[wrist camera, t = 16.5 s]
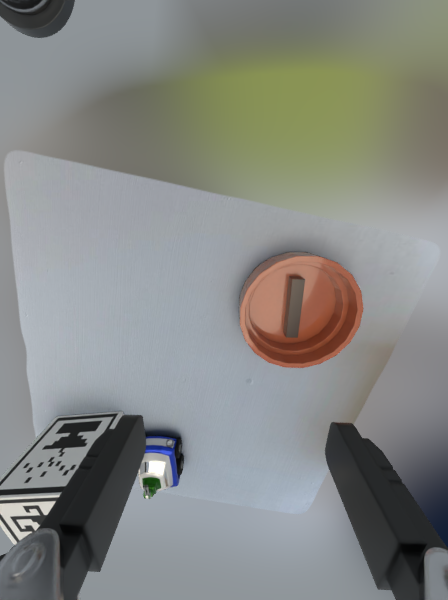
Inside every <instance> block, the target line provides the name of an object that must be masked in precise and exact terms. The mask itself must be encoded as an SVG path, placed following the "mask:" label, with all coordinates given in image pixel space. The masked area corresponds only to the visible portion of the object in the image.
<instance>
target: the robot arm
mask: <svg viewBox="0 0 448 600" xmlns="http://www.w3.org/2000/svg"><path fill="white" fill-rule="evenodd" d="M0 2H1V3H2V4H3V5H5V6H6V7H7V8H8V9H10V10H12V11H13V12H16V13H18V14H21V15H34V14H37V13H40V12H41V11H43V10H44V9H45V8H46V7H47V6H48V5H49V3H50V2H51V0H0ZM145 450H146V436H145V429H144V423H143V417H142V416H141V415H123V416H122V417H121V418H120V420H119V421H118V423H117V425H116V427H115V428H114V429H107V430H106V431H105V432H104V433H102V434H101V435H100V436H99V437H98V438H97V439H96V440H95V441H94V443H93V444H92V446H91V448H90V449H89V451H88V452H87V454H86V457H84V459H83V460H82V462H81V463H80V465H79V468H78V469H76V471H75V473H74V474H73V476H72V477H71V479H70V480H69V482H68V483H67V485H66V487H65V488H64V490H63V491H62V493H61V494H60V496H59V497H58V499H57V501H56V502H55V504H54V505H53V507H52V508H51V510H50V512H49V513H48V515H47V516H46V518H45V519H44V521H43V522H42V523H41V525H40V526H39V527H38V528H37V530H36V531H34V532H32V533H30V534H28V535H27V536H25V537H24V538H23V539H21V540H20V541H19V542H18V543H17V544H16V545H14V546H13V547H12V548H11V549H10V551H9V552H8V553H6V554H4V555H1V556H0V600H80V589H81V587H82V584H83V582H84V579H85V577H86V575H87V572H88V571H95V572H100V570H101V567H102V565H103V562H104V560H105V557H106V554H107V552H108V549H109V546H110V544H111V541H112V538H113V536H114V533H115V531H116V528H117V525H118V523H119V520H120V518H121V515H122V513H123V510H124V507H125V504H126V502H127V500H128V497H129V494H130V492H131V489H132V487H133V484H134V481H135V479H136V476H137V473H138V471H139V468H140V466H141V463H142V460H143V458H144V454H145ZM325 455H326V461H327V464H328V467H329V470H330V472H331V475H332V477H333V479H334V482H335V484H336V487H337V489H338V492H339V494H340V497H341V499H342V502H343V504H344V507H345V509H346V511H347V514H348V517H349V519H350V522H351V524H352V527H353V529H354V532H355V534H356V536H357V539H358V541H359V544H360V546H361V549H362V551H363V554H364V556H365V559H366V561H367V564H368V566H369V569H370V571H371V574H372V576H373V579H374V581H375V584H376V586H377V588H378V589H381V590H392V592H393V594H394V596H395V599H396V600H448V548H447V546H446V545H445V544H444V542H443V541H442V540H441V538H440V537H439V535H438V534H437V532H436V531H435V529H434V528H433V526H432V525H431V523H430V522H429V520H428V519H427V517H426V516H425V515H424V513H423V511H422V510H421V508H420V507H419V505H418V504H417V503H416V501H415V500H414V498H413V497H412V495H411V494H410V492H409V491H408V489H407V488H406V486H405V485H404V484H403V483H402V481H401V479H400V477H399V476H398V474H397V473H396V471H395V470H393V467H392V465H391V464H390V462H389V461H388V459H387V458H386V456H385V455H384V453H383V452H382V451H381V450H380V449H379V448H378V447H377V446H376V445H375V444H374V443H373V442H371V441H370V440H369V439H364V438H362V437H361V436H360V434H359V432H358V431H357V429H356V428H355V426H354V425H353V424H352V423H335V422H332V423H331V425H330V429H329V433H328V438H327V443H326V448H325Z"/></svg>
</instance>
